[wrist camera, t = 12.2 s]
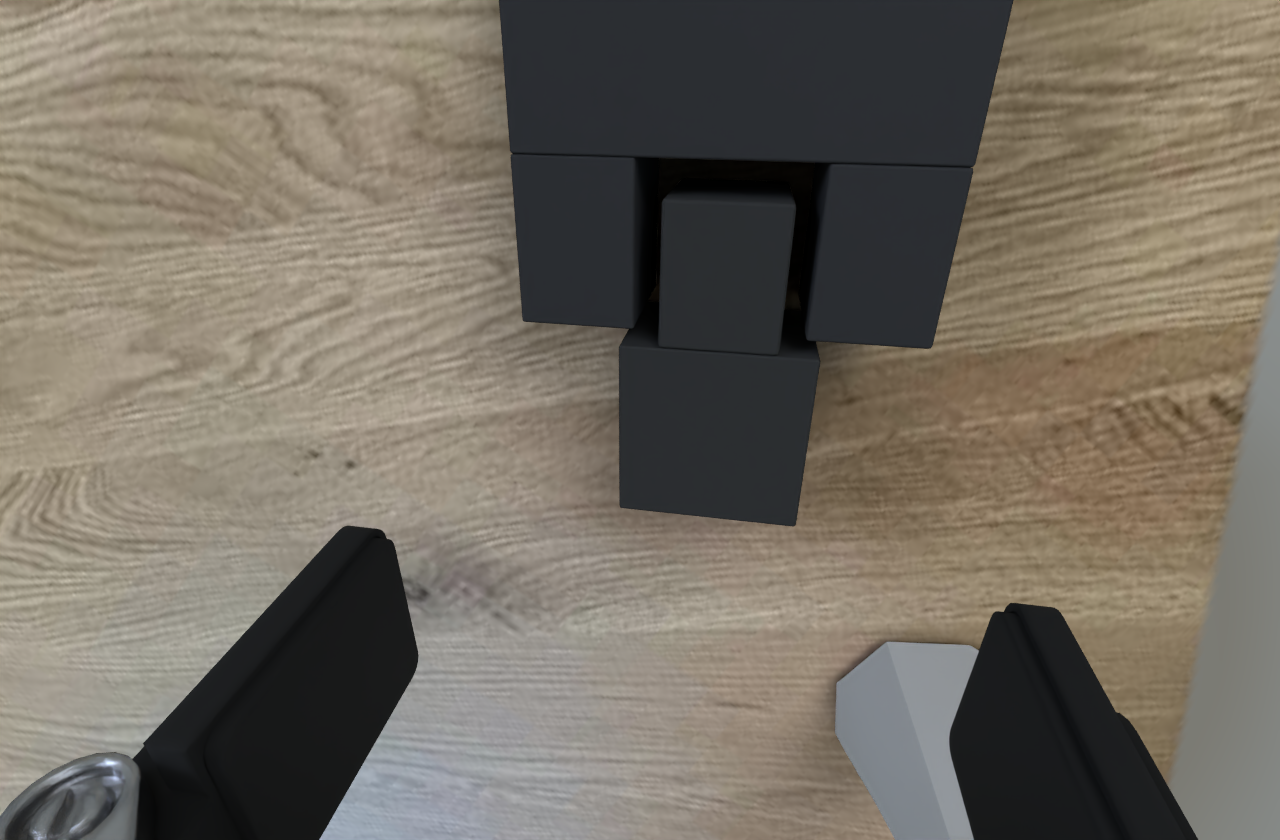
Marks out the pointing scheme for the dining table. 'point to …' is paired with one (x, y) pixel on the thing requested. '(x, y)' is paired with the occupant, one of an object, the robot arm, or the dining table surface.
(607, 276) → the notch pad
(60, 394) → the dining table surface
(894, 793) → the flask
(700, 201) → the pad
